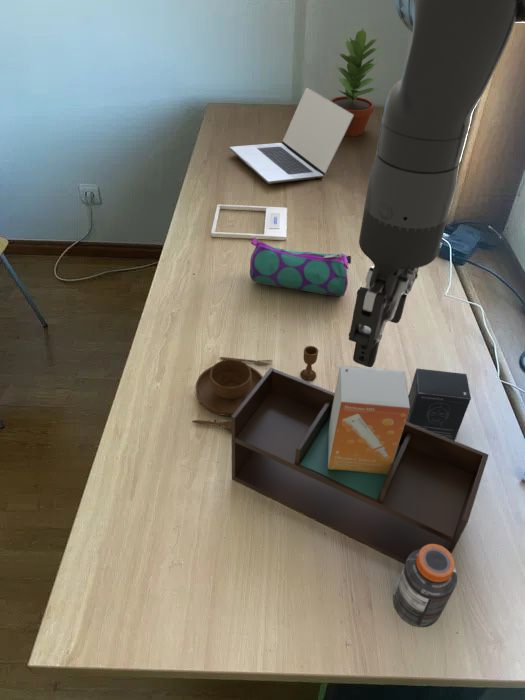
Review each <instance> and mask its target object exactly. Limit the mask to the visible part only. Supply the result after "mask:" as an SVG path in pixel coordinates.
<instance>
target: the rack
mask: <svg viewBox="0 0 525 700" xmlns="http://www.w3.org/2000/svg"><path fill="white" fill-rule="evenodd" d="M334 396H335V392H333V391H330V390H328V389H326V388H323V387H321V386H318V385H316V384H313V383H310V382H308V381H307V380H304V379H302V378H298V377H296V376H294V375H291V374H288V373H286V372H283V371H281V370H278V369H276V368H273V367H270V368H269V369H268V370H267V371H266V372H265V373H264V374H263V375H262V379H261V380H260V381H259V382H258V384H257V385H256V386H255V387H254V389H253V390H252V391H251V392H250V394H249V395H248V396H247V397H246V399H245V400H244V401H243V402H242V404H241V405H240V406H239V407H238V409H237V410H236V411H235V413H234V414H233V415H232V416H230V421H231V429H230V430H231V431H230V433H231V435H230V436H231V438H230V439H231V480H232V481H234V482H236V483H238V484H240V485H242V486H244V487H246V488H249V489H250V490H253V491H254V492H257V493H259V494H261V495H263V496H265V497H267V498H269V499H271V500H273V501H274V502H277V503H279V504H281V505H283V506H285V507H288V508H290V509H291V510H293V511H295V512H297V513H300V514H302V515H303V516H306V517H308V518H309V519H312V520H314V521H316V522H318V523H320V524H322V525H324V526H326V527H328V528H330V529H332V530H334V531H336V532H338V533H341V534H343V535H344V536H347V537H348V538H351V539H352V540H355V541H356V542H359V543H361V544H362V545H365V546H367V547H369V548H371V549H373V550H375V551H377V552H379V553H381V554H383V555H385V556H388V557H389V558H391V559H393V560H395V561H398V562H400V563H401V564H403V565H404V564H405V562H406V560H407V558H408V556H409V555H410V554H411V553H412V552H414V551H415V550H418V549H421V548H422V547H424V546H425V545H428V544H437V545H440V546H443V547H444V548H446V549H447V550H448V551H449V552H450V553H451V555H452V554H453V553H454V550H455V548H456V547H457V545H458V542H459V540H460V539H461V537H462V535H463V533H464V530H465V528H466V527H467V525H468V523H469V520H470V517H471V513H472V510H473V506H474V504H475V500H476V497H477V494H478V491H479V487H480V484H481V482H482V477H483V474H484V471H485V468H486V465H487V462H488V459H489V454H488V453H486V452H483V451H481V450H479V449H476V448H473V447H471V446H468V445H466V444H463V443H461V442H458V441H456V440H455V441H454V440H451V439H449V438H446V437H444V436H441V435H439V434H436V433H434V432H431V431H429V430H426V429H424V428H421V427H419V426H416V425H414V424H411V423H409V422H405V426H404V429H403V432H402V435H401V438H400V441H399V445H398V448H397V451H396V454H395V457H394V460H393V463H392V467H391V470H390V472H389V474H388V475H386V474H378V473H368V472H358V471H347V470H331V469H328V431H329V424H330V418H331V412H332V406H333V401H334Z"/></svg>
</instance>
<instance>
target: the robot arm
mask: <svg viewBox="0 0 525 700" xmlns="http://www.w3.org/2000/svg"><path fill="white" fill-rule="evenodd" d="M393 3H394V7H395V10H396V13H397V15H398V18H399V19H400V20H401V22H402V24H403V25H404V26H405V27H406V28H407V29H408V31H410V32H411V33H412V35H411V42H410V48H409V51H408V55H407V59H406V63H405V67H404V71H403V75H402V78H401V79H400V80H398V81H396V82H395V84H393V86H391V88H390V90H389V92H388V94H387V97H386V100H385V103H384V107H383V112H382V117H381V123H380V129H379V135H378V141H377V147H376V152H375V157H374V161H373V164H372V166H371V169H370V173H369V178H368V182H367V189H366V195H365V202H364V207H363V213H362V220H361V226H360V232H359V237H358V244H359V248H360V250H361V252H362V253H363V254H364V255H365V256H366V257H367V258H368V259H369V260H370V261H371V262H372V263H373V265H374V266H372V265H370V267H369V269H368V271H367V273H366V277H365V286H360V287H359V289H357V291H356V297H355V298H356V299H355V304H354V308H353V313H352V318H351V319H352V320H351V325H350V330H349V333H348V341H351V342H354V343H355V346H354V350H353V356H352V360H353V362H355V364H358V365H361V366H363V367H368V368H373V366H374V365H375V363H376V359H377V355H378V350H379V347H380V341H381V340H382V338H383V332H384V331H385V328H386V324H387V322H391V323H395V324H398V323H400V322H401V319H402V316H403V314H404V313H403V312H404V308H405V305H406V299H407V296H408V294H409V293H410V292H411V291H412V288H413V286H414V284H415V281H416V280H417V279H418V273H419V268H423V267H426V266H428V265H429V264H431V263H432V262H433V261H435V260H436V258H437V257H438V254H439V251H440V248H441V244H442V240H443V237H444V233H445V229H446V227H447V223H448V219H449V215H450V211H451V208H452V204H453V201H454V197H455V193H456V188H457V183H458V174H459V168H460V163H461V161H462V157H463V152H464V149H465V146H466V142H467V137H468V134H469V130H470V126H471V122H472V118H473V113H474V110H475V109H476V107H477V106H478V103H479V101H480V100H481V98H482V96H483V94H485V91H486V90H487V87H488V85H489V83H490V82H491V79H492V78H493V75H494V73H495V71H496V69H497V67H498V65H499V63H500V61H501V58H502V56H503V55H504V52H505V50H506V48H507V46H508V43H509V42H510V38H511V37H512V33H513V30H514V26H515V24H517V23H519V24H520V23H521V24H522V23H523V24H525V0H393Z"/></svg>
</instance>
